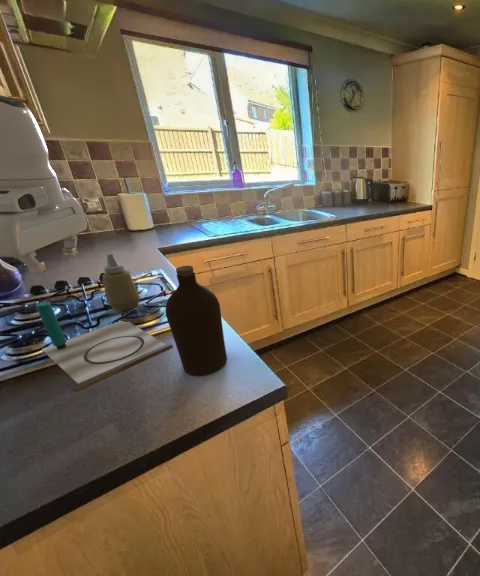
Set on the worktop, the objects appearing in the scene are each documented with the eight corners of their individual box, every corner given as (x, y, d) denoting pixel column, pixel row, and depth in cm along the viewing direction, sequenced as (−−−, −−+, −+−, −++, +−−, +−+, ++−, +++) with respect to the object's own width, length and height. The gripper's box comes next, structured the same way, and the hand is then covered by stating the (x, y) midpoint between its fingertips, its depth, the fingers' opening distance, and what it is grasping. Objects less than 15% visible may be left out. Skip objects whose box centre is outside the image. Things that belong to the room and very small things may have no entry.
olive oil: (223, 376, 76) (203, 276, 66) (173, 380, 74) (144, 278, 64) (234, 349, 85) (218, 259, 75) (190, 352, 83) (167, 260, 73)
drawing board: (36, 353, 81) (34, 349, 80) (128, 320, 96) (127, 316, 96) (75, 392, 69) (73, 387, 69) (173, 347, 85) (172, 343, 85)
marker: (53, 348, 81) (33, 304, 76) (66, 343, 83) (47, 300, 78) (57, 351, 80) (37, 307, 75) (69, 346, 82) (51, 303, 77)
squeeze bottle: (136, 300, 107) (120, 248, 100) (147, 308, 103) (131, 253, 96) (106, 309, 101) (87, 254, 94) (116, 317, 97) (97, 260, 90)
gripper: (50, 185, 69) (72, 248, 75) (-45, 203, 51) (-6, 284, 57) (84, 186, 70) (103, 247, 76) (4, 204, 52) (37, 283, 58)
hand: (56, 263), depth 66 cm, fingers open, 8 cm apart
